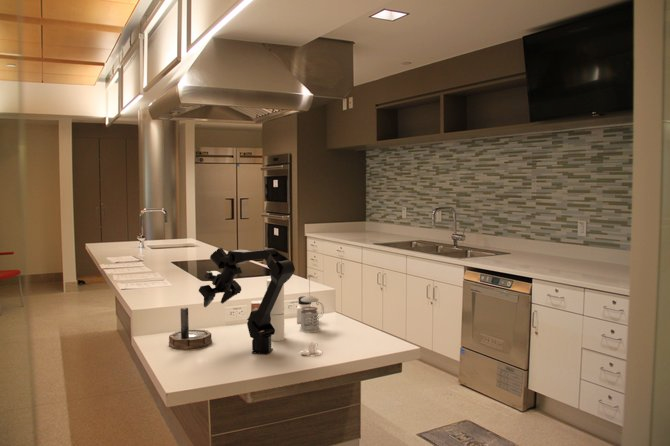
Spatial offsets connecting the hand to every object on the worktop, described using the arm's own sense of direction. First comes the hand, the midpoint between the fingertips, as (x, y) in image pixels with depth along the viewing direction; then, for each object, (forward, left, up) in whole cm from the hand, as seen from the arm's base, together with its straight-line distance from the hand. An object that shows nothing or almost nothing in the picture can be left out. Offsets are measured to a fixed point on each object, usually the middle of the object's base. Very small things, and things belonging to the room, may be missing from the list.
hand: (213, 304), depth 223 cm
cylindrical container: (-25, -8, -15) cm, 30 cm away
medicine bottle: (-29, -39, -15) cm, 50 cm away
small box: (-14, -19, -15) cm, 28 cm away
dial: (+7, +6, -14) cm, 17 cm away
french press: (-36, -25, -15) cm, 46 cm away
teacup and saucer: (-42, +8, -16) cm, 45 cm away
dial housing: (+7, +6, -15) cm, 18 cm away
